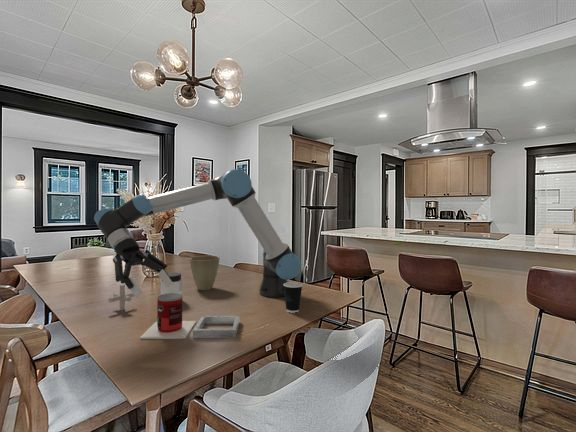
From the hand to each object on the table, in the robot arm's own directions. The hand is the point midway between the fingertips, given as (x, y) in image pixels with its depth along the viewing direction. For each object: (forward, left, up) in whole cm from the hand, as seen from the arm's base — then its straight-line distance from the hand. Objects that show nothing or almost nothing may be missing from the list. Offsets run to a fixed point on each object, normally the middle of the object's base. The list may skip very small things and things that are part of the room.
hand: (155, 290), depth 105 cm
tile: (-6, +2, -13) cm, 14 cm away
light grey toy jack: (+20, -20, -13) cm, 31 cm away
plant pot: (-6, -53, -13) cm, 55 cm away
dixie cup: (-49, -17, -13) cm, 53 cm away
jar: (+4, -31, -13) cm, 34 cm away
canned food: (-5, +2, -13) cm, 14 cm away
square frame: (-22, +2, -13) cm, 25 cm away
